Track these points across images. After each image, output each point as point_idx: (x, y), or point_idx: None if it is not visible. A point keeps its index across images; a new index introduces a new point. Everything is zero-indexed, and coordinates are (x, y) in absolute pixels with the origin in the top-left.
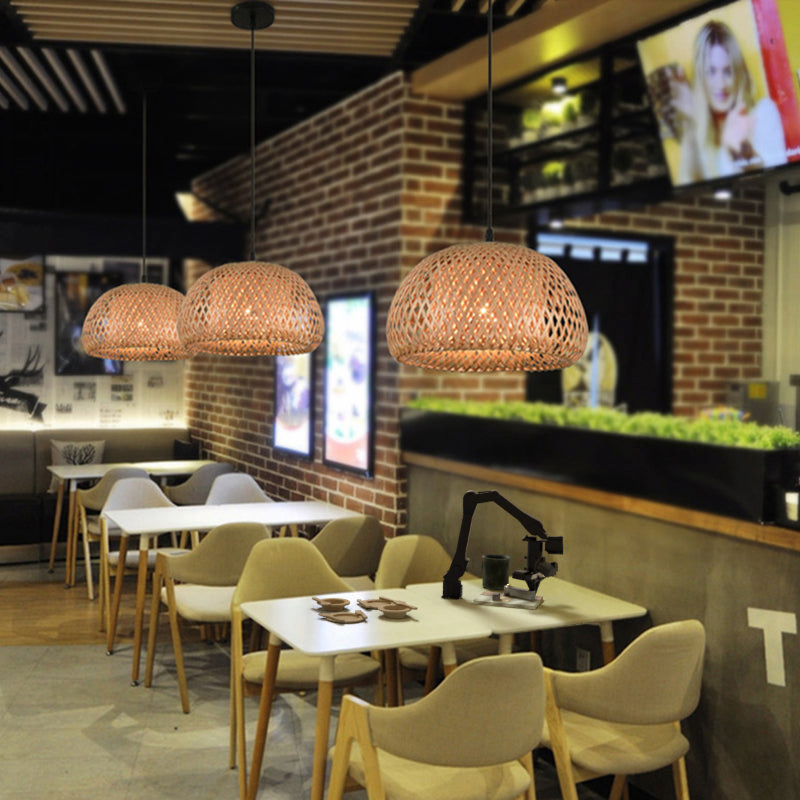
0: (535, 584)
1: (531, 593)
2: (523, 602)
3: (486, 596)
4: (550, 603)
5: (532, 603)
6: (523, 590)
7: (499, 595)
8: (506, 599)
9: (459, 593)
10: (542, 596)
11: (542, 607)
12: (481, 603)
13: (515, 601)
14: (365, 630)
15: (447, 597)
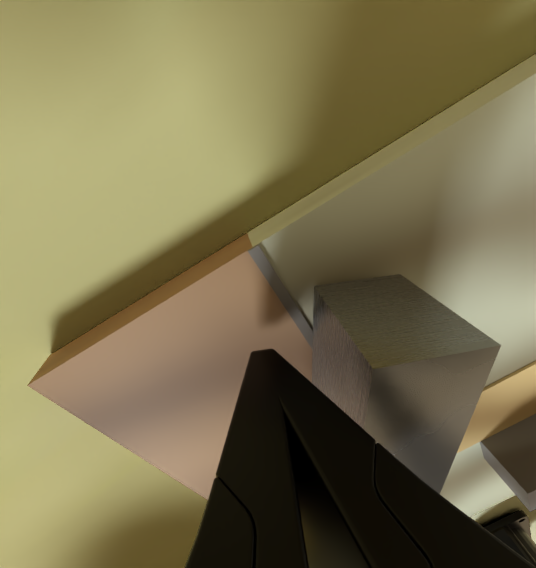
0: (425, 558)
1: (465, 323)
2: (514, 260)
3: (459, 501)
4: (98, 143)
5: (518, 151)
6: (448, 457)
7: (533, 458)
8: (484, 407)
9: (521, 549)
10: (39, 383)
11: (427, 23)
12: None
13: (509, 331)
14: None
15: (529, 530)
